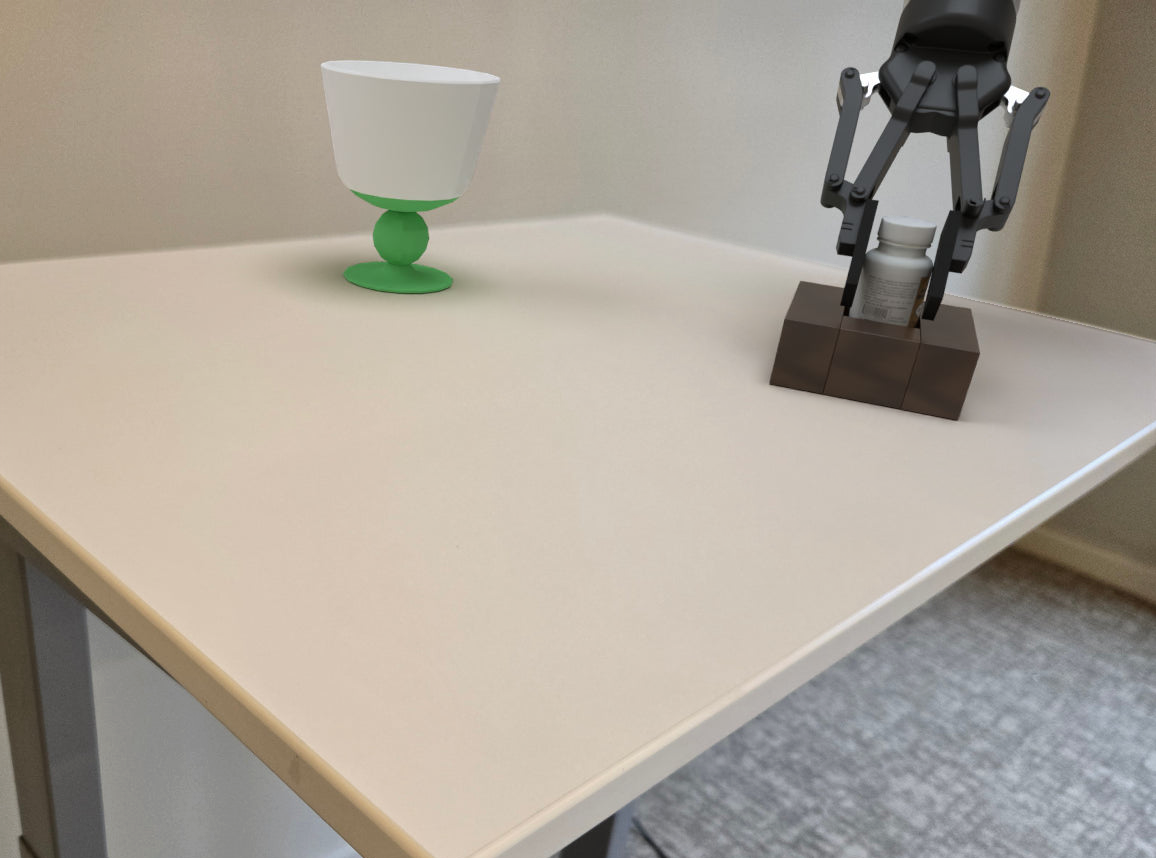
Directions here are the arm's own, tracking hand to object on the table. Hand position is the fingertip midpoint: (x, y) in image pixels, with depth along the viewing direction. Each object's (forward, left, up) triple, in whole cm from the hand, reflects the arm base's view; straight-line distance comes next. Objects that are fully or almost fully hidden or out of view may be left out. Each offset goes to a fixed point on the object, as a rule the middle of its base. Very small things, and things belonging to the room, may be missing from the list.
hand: (890, 301), depth 69 cm
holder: (0, -4, -6) cm, 7 cm away
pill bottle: (0, -4, -3) cm, 5 cm away
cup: (+37, -7, -6) cm, 38 cm away
